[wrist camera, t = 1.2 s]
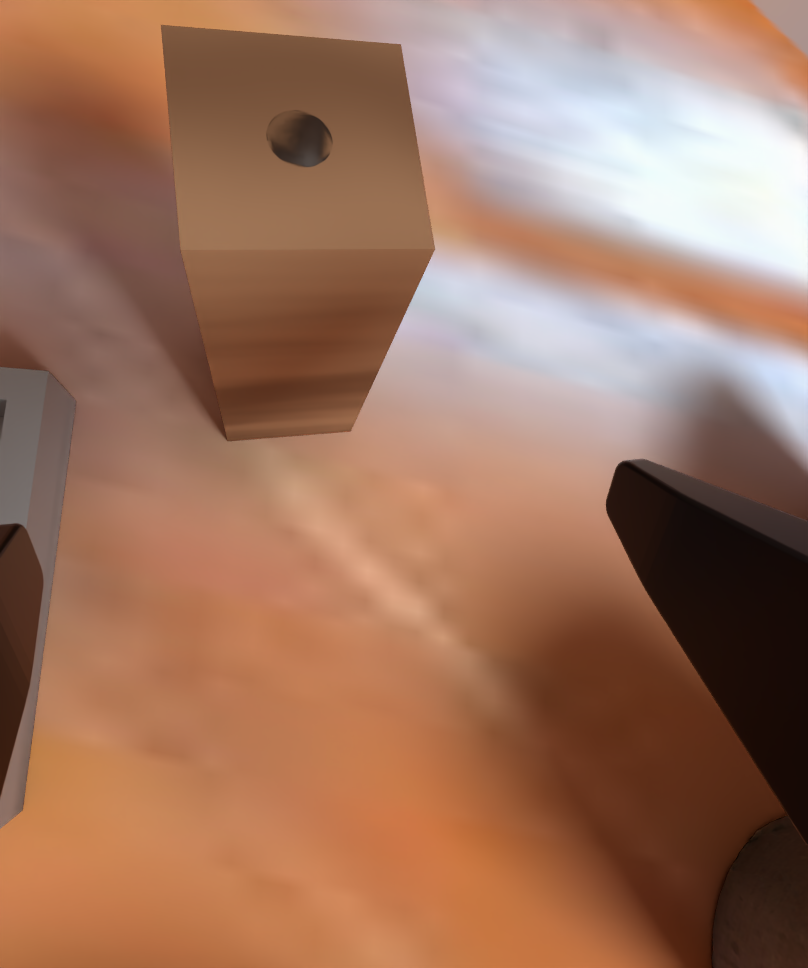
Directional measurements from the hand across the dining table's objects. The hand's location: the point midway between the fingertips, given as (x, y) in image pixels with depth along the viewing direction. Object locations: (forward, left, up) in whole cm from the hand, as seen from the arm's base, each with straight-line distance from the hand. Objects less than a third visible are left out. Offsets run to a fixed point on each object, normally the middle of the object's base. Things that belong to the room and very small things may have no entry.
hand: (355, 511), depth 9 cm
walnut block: (+7, +1, -13) cm, 14 cm away
